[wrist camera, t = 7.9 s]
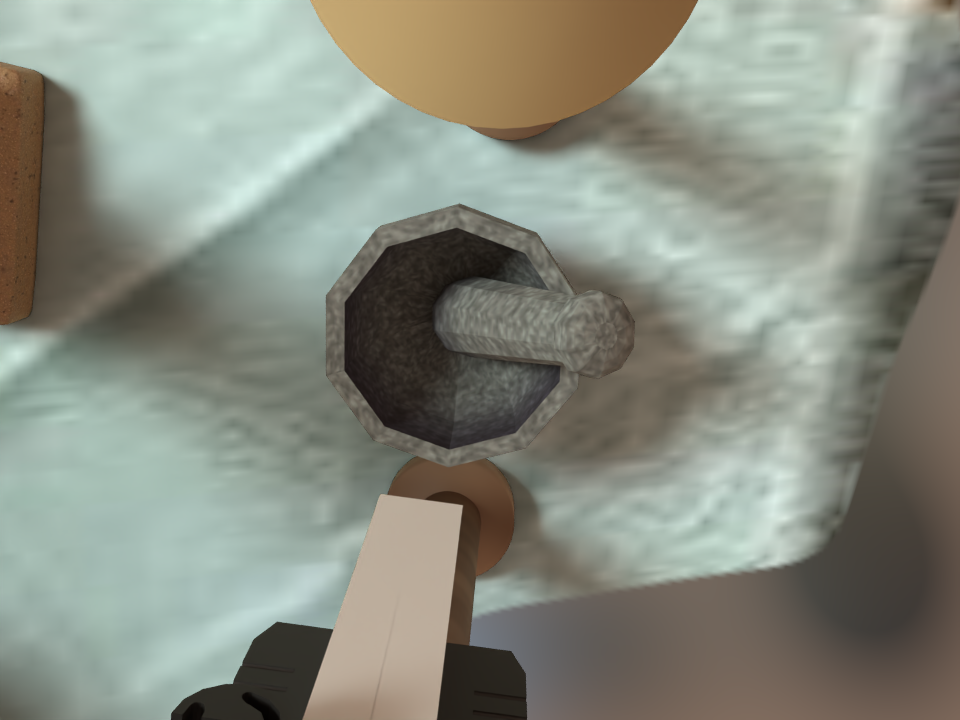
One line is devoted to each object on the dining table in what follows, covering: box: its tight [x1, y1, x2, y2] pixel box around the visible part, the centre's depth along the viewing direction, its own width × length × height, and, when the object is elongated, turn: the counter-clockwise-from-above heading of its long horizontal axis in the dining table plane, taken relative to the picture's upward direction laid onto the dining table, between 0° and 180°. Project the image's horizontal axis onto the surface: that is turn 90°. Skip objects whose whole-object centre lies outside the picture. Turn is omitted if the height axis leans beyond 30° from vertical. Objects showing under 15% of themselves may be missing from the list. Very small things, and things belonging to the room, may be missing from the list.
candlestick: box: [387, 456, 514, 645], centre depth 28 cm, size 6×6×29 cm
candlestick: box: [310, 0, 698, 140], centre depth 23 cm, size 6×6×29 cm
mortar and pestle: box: [326, 204, 635, 467], centre depth 34 cm, size 11×9×12 cm
